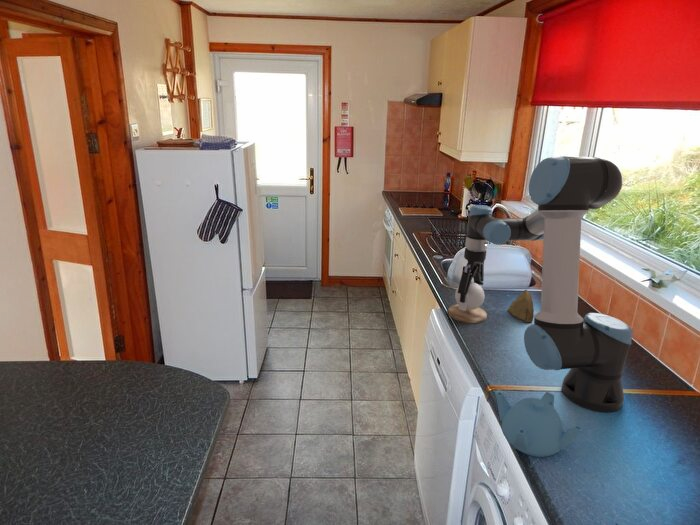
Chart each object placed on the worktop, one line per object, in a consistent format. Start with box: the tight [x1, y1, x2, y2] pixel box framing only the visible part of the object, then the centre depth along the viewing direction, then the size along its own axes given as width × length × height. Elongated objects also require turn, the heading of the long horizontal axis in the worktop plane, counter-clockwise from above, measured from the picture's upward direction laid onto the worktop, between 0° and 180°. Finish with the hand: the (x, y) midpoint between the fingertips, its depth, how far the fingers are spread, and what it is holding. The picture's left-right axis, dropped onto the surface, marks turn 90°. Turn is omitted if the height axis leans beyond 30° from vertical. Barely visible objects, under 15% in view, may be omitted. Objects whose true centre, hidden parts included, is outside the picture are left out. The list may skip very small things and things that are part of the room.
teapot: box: [495, 391, 583, 458], centre depth 109 cm, size 15×15×11 cm
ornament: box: [454, 281, 485, 310], centre depth 171 cm, size 10×10×12 cm
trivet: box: [447, 303, 488, 324], centre depth 174 cm, size 14×14×1 cm
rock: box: [507, 289, 535, 323], centre depth 173 cm, size 11×9×10 cm
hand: (468, 305), depth 173 cm, fingers closed on ornament, 10 cm apart
